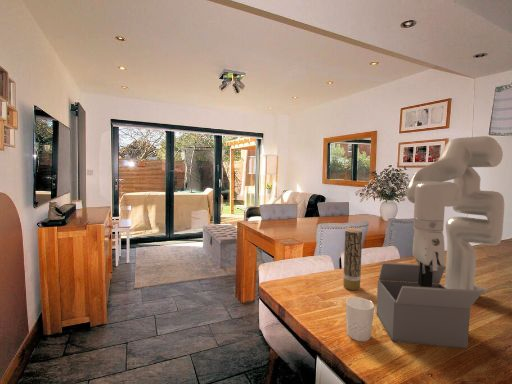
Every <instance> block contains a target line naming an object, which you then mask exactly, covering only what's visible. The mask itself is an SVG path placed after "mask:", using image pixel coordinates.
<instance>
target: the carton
mask: <svg viewBox="0 0 512 384" xmlns="http://www.w3.org/2000/svg"><path fill="white" fill-rule="evenodd" d="M402 286H411V287H423V286H420V285H419V284H418V283H416V282H399V281H382V280H379V279H378V280H377V290H376V291H377V292H376V317H377V318H378V320H379V321H380V322H381V324H382V325H381V326H383V328H384V329H385V332H386V333H387V335H388V336H389V339H390V340H391V342H394V343H402V344H403V343H404V344H414V345H426V346H438V347H447V348H450V347H451V348H459V349H460V348H462V349H468V348H469V347H468V344H469V329H470V319H471V318H470V315H471V308H470V309H467V308H453V307H439V306H424V305H410V304H396V300H397V298H398V295H399V293H400V290H401V288H402ZM428 288H444V289H446V288H445V287H444V285H443V284H440V283H439V284H432V287H428Z"/></svg>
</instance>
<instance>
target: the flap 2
mask: <svg viewBox="0 0 512 384" xmlns="http://www.w3.org/2000/svg"><path fill="white" fill-rule="evenodd" d="M481 294H482V292H481V291H476V290H460V289H444V288H428V287H411V286H402V288H401V290H400V293H399V295H398V298H397V300H396V304H410V305H424V306H439V307H453V308H467V309H470V310H471V308H472V306H473V305H474V303H475V302H476V301H477V300H478V299H479V297H480V295H481ZM477 298H478V299H477ZM476 299H477V300H476Z"/></svg>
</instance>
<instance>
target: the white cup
mask: <svg viewBox="0 0 512 384" xmlns="http://www.w3.org/2000/svg"><path fill="white" fill-rule="evenodd" d="M345 300H346V301H345V306H346V307H345V317H346V319H345V321H346V322H345V323H346V334H347V336H348V337H349V338H351V339H352V340H354V341H357V342H368V341H369V340H370V339H371V338H372V337H371V336H372V330H373V321H374V314H375V313H374V310H375V309H374V308H375V304H374V302H373V301H371V300H370V299H366V298H364V297H359V296H358V297H356V296H355V297H353V296H352V297H348V298H346V299H345Z"/></svg>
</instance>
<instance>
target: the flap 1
mask: <svg viewBox="0 0 512 384" xmlns="http://www.w3.org/2000/svg"><path fill="white" fill-rule="evenodd" d="M437 270H438V271H437V272H434V273H433V277H432V284H440V283H441V280H442V278H443V275H444V272H445V271H446V265H444V266H443V267H440V266H438V265H437ZM418 275H419V270H418V263H403V262H402V263H401V262H400V263H399V262H382V263H381V268H380V272H379V276H378V280H380V281H397V282H413V283H418Z"/></svg>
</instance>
